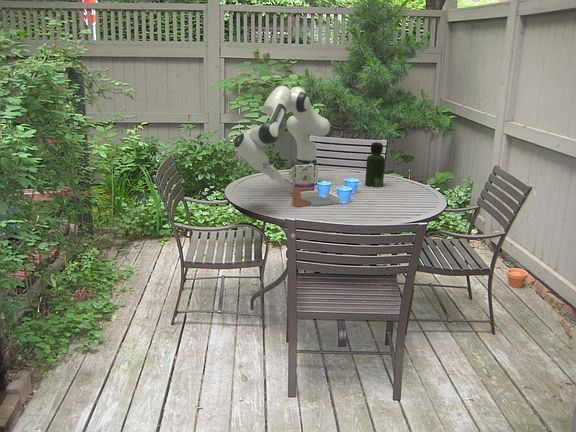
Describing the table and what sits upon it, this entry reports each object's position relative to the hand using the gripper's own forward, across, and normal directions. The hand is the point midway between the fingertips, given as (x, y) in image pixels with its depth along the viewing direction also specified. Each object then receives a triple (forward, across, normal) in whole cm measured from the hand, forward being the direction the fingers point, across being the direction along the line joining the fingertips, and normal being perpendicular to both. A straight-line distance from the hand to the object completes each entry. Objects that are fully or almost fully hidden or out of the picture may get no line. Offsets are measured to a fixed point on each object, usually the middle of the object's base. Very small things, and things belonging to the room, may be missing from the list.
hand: (277, 180), depth 314 cm
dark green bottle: (+64, +28, -43) cm, 82 cm away
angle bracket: (+20, 0, 0) cm, 20 cm away
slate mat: (+28, +4, -8) cm, 30 cm away
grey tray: (+29, +5, -9) cm, 31 cm away
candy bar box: (+28, +20, -7) cm, 35 cm away
